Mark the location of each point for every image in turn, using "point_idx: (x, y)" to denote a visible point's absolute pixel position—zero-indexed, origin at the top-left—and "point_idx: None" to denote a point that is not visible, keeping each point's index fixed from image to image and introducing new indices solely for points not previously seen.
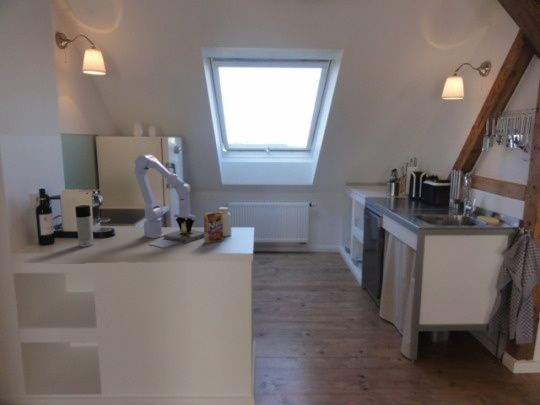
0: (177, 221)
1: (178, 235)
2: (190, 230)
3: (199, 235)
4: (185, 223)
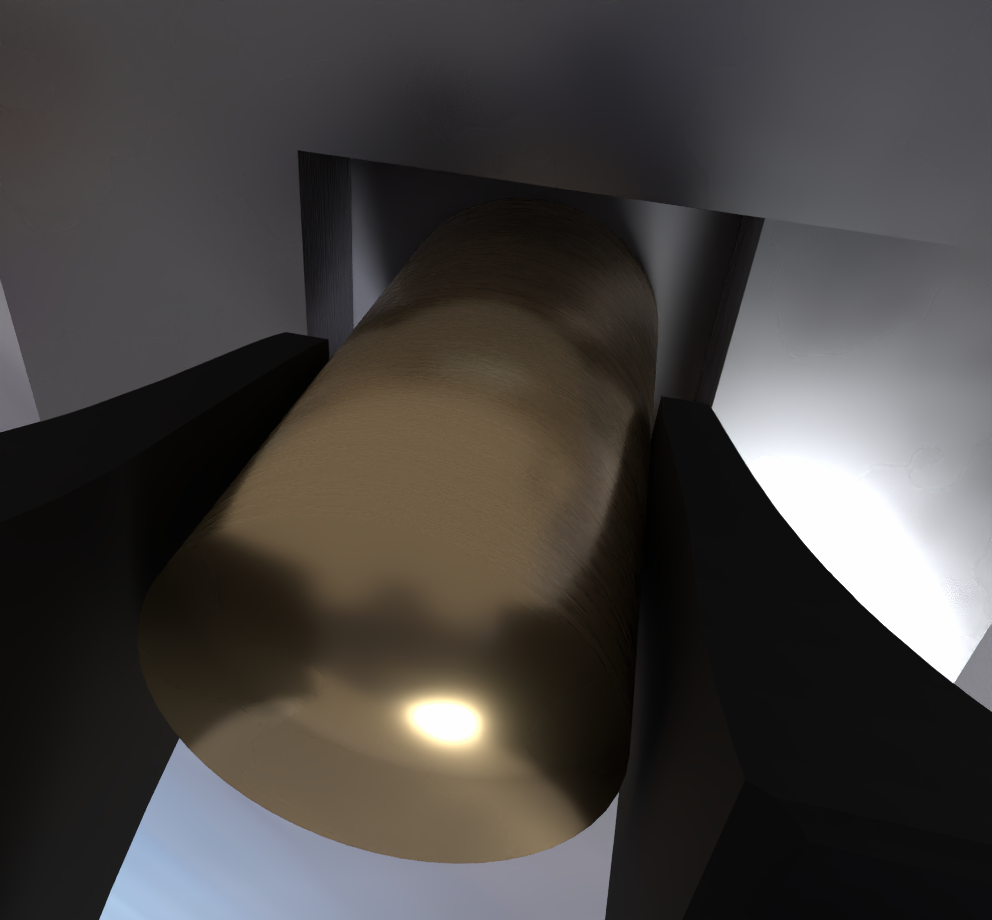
0: (898, 711)
1: (595, 46)
2: None
3: (51, 403)
4: (233, 607)
